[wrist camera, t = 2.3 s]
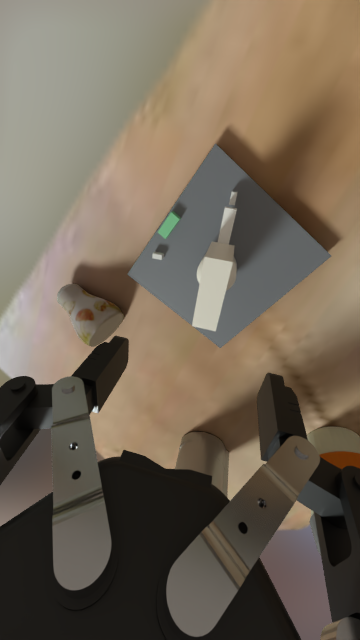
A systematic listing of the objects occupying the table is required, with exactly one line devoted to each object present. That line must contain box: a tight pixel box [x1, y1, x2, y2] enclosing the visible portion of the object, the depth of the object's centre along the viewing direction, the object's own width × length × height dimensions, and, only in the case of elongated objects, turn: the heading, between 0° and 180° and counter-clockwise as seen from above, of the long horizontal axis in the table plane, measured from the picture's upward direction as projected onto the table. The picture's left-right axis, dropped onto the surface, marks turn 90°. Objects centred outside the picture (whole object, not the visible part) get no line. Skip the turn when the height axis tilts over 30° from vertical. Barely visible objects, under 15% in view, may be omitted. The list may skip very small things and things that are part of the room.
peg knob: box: [192, 207, 237, 331], centre depth 25 cm, size 10×4×9 cm, turn 174°
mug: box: [57, 284, 124, 346], centre depth 36 cm, size 8×10×10 cm
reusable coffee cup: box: [307, 427, 360, 555], centre depth 36 cm, size 13×13×15 cm
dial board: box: [128, 144, 331, 348], centre depth 30 cm, size 17×18×2 cm
